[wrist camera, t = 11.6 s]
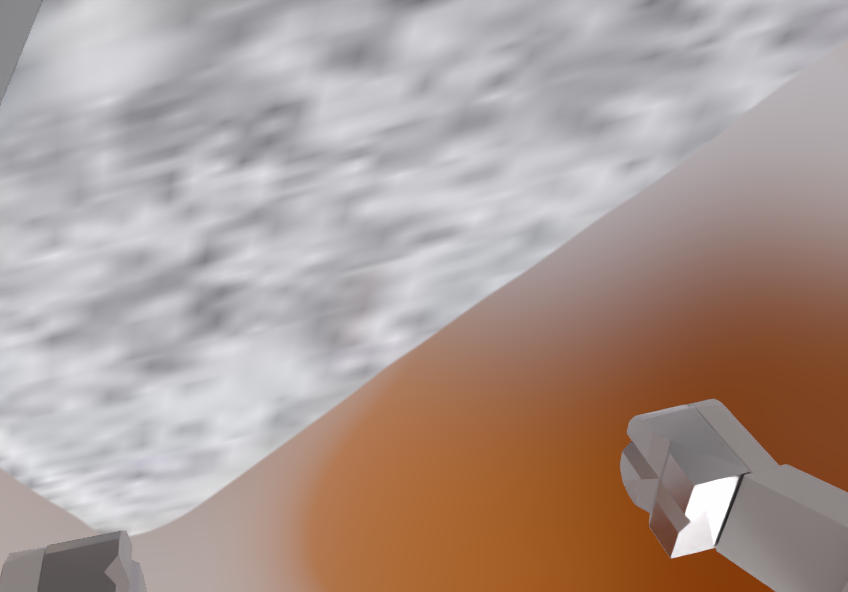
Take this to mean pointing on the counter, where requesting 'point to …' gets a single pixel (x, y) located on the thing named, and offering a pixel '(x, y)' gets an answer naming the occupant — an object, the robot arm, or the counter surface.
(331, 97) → the counter surface
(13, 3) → the build board
